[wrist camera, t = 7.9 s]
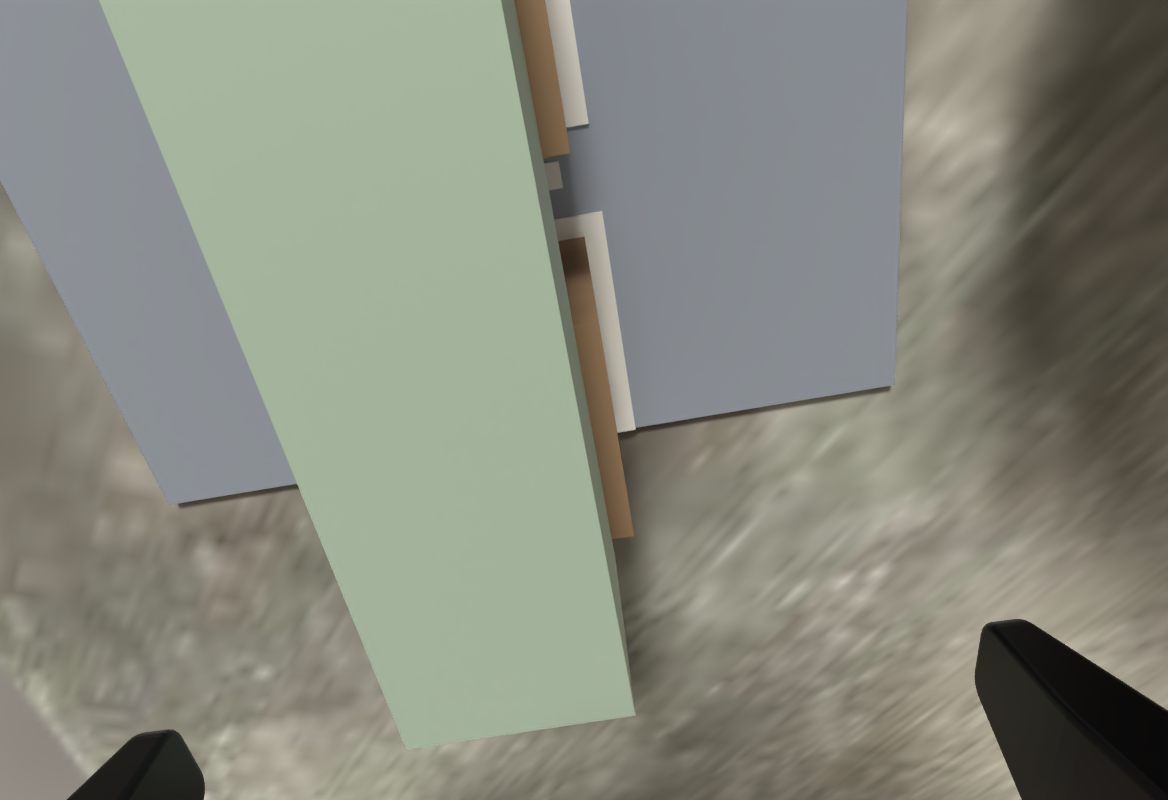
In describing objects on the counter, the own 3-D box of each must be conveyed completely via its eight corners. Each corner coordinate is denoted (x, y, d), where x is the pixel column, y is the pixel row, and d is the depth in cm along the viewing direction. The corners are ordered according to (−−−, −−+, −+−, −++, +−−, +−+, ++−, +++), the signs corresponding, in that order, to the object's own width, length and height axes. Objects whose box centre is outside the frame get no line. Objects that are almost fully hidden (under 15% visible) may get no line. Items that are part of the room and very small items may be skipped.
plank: (467, -265, 10) (429, -379, 7) (615, 561, 17) (635, 715, 14) (167, -206, 10) (-20, -290, 7) (433, 589, 17) (406, 750, 14)
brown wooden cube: (515, -175, 15) (506, -231, 10) (562, 104, 17) (570, 153, 13) (254, -125, 15) (139, -159, 11) (337, 144, 17) (270, 206, 13)
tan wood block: (584, 236, 19) (598, 321, 14) (614, 416, 21) (634, 536, 17) (376, 272, 19) (327, 367, 15) (430, 447, 21) (402, 573, 17)
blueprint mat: (910, -282, 15) (919, -288, 14) (890, 379, 21) (896, 386, 21) (-124, -81, 15) (-140, -82, 15) (173, 498, 22) (167, 507, 22)
